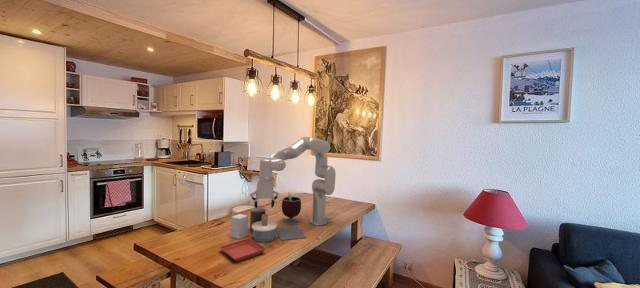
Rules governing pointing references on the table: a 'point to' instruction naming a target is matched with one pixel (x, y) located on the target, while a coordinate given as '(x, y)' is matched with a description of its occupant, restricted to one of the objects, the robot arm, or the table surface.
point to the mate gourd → (291, 209)
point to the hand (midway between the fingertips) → (264, 207)
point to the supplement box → (239, 226)
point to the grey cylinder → (256, 216)
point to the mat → (290, 233)
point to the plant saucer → (242, 249)
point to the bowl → (264, 235)
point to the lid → (264, 224)
